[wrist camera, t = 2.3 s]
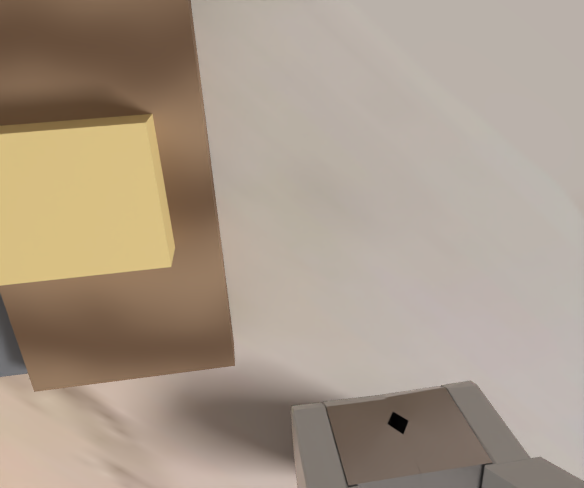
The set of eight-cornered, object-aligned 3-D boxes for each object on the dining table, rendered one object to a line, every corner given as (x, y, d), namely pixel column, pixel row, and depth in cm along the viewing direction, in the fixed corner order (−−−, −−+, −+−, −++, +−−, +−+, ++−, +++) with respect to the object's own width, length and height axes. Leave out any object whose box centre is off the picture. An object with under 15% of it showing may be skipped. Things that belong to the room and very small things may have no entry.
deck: (-95, -71, 18) (-129, -82, 16) (179, -82, 19) (175, -94, 17) (47, 366, 26) (34, 391, 25) (233, 343, 27) (234, 365, 26)
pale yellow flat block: (-29, 128, 19) (-55, 138, 17) (152, 113, 20) (145, 122, 18) (15, 264, 22) (-4, 285, 20) (175, 247, 22) (171, 267, 21)
